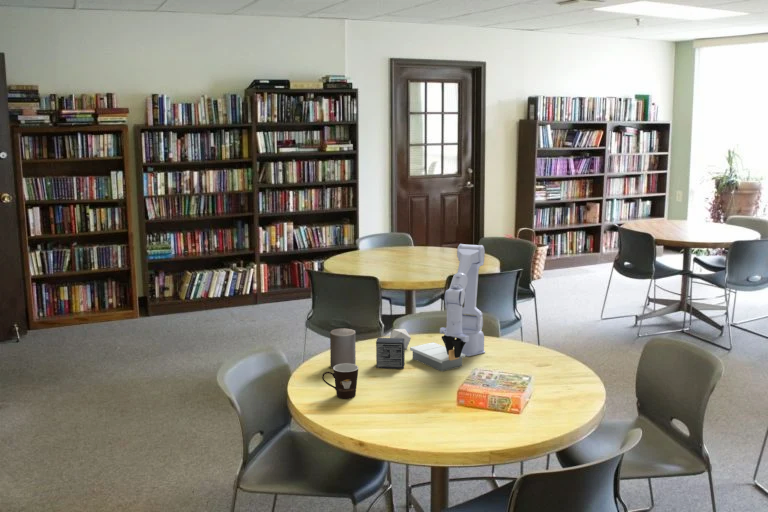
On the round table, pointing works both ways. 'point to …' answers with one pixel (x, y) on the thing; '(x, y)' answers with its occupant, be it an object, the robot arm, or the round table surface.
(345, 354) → the pillar candle
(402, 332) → the die
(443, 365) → the tub
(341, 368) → the coffee mug
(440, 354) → the lid
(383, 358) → the small box
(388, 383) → the round table surface
